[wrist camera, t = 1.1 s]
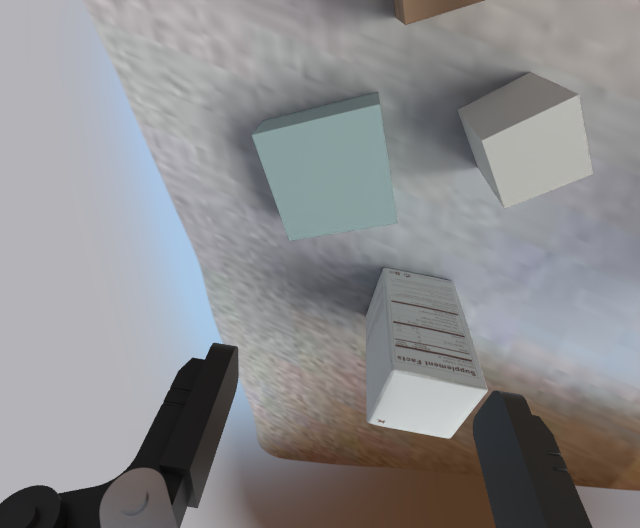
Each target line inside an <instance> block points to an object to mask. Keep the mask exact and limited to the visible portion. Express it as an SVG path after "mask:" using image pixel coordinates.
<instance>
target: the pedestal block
mask: <svg viewBox="0 0 640 528" xmlns="http://www.w3.org/2000/svg"><path fill="white" fill-rule="evenodd" d="M252 138H253V140H254V143H255V146H256V149H257V152H258V155H259V157H260V160H261V163H262V166H263V169H264V171H265V174H266V177H267V180H268V183H269V185H270V188H271V191H272V194H273V197H274V199H275V202H276V205H277V208H278V211H279V213H280V216H281V219H282V222H283V225H284V227H285V230H286V233H287V236H288V239H289V241H293V240H299V239H305V238H311V237H317V236H323V235H329V234H335V233H341V232H347V231H353V230H359V229H365V228H371V227H377V226H383V225H389V224H395V223H398V222H397V215H396V208H395V202H394V195H393V188H392V181H391V175H390V168H389V161H388V155H387V148H386V141H385V134H384V128H383V121H382V114H381V108H380V101H379V94H378V92H376V93H372V94H368V95H364V96H360V97H356V98H352V99H348V100H344V101H340V102H336V103H332V104H328V105H324V106H320V107H316V108H312V109H308V110H304V111H300V112H296V113H292V114H288V115H284V116H280V117H276V118H272V119H268V120H264V121H263V122H262V123H261V124H260V125H259V127H258V128H257V129H256V130H255V131H254V133H253V134H252Z"/></svg>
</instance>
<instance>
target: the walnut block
mask: <svg viewBox="0 0 640 528" xmlns="http://www.w3.org/2000/svg"><path fill="white" fill-rule="evenodd" d="M481 1H484V0H394V6H395V14H396V18H397V19H398V20H400V21H401V22H402V23H404V24H405V25H407V24H410V23H414V22H417V21H420V20H423V19H426V18H430V17H433V16H436V15H439V14H442V13H446V12H449V11H452V10H455V9H458V8H462V7H465V6H468V5H471V4H474V3H478V2H481Z"/></svg>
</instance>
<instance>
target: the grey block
mask: <svg viewBox="0 0 640 528" xmlns="http://www.w3.org/2000/svg"><path fill="white" fill-rule="evenodd" d="M458 113H459V116H460V119H461V122H462V124H463V127H464V130H465V133H466V136H467V138H468V141H469V144H470V147H471V150H472V153H473V155H474V158H475V161H476V164H477V167H478V169H479V170H480V172H481V173H482V175H483V176H484V178H485V179H486V181H487V183H488V184H489V186H490V187H491V189H492V190H493V192H494V193H495V195H496V196H497V198H498V199H499V201H500V203H501V204H502V206H503V207H504V209H506V208H509V207H511V206H514V205H516V204H519V203H521V202H524V201H526V200H529V199H531V198H534V197H536V196H539V195H541V194H544V193H546V192H549V191H552V190H554V189H557V188H559V187H562V186H564V185H567V184H569V183H572V182H574V181H577V180H579V179H582V178H584V177H587V176H589V175H592V174H593V171H592V165H591V160H590V154H589V148H588V143H587V137H586V132H585V126H584V120H583V115H582V109H581V103H580V98H579V94H577V93H575V92H572V91H570V90H568V89H566V88H564V87H562V86H560V85H558V84H555V83H553V82H551V81H549V80H547V79H545V78H543V77H541V76H538V75H536V74H534V73H532V72H529V73H527V74H525V75H524V76H522V77H520V78H518V79H516V80H514V81H512V82H510V83H508V84H506V85H504V86H502V87H500V88H498V89H497V90H495V91H493V92H491V93H489V94H487V95H485V96H483V97H481V98H479V99H477V100H475V101H473V102H471V103H470V104H468V105H466V106H464V107H462V108H460V109H458Z"/></svg>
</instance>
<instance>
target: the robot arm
mask: <svg viewBox="0 0 640 528" xmlns="http://www.w3.org/2000/svg"><path fill="white" fill-rule="evenodd" d="M237 383H238V347H237V346H231V345H225V344H219V343H213V344H212V346H211V347H210V350H209V352H208V354H207V356H206V359H205V360H203V359H197V358H192V359H191V360H190V361H188V362H187V363H186V364H185V365H184V366H183V367H182V368H181V369H180V370H179V371H178V373H177V375H176V377H175V379H174V381H173V383H172V385H171V388H170V391H168V393H167V395H166V397H165V400H164V403H163V404H162V405H161V407H160V410H159V411H158V413H157V416H156V417H155V419H154V421H153V424H152V425H151V427H150V429H149V432H148V434H147V435H146V438H145V440H144V442H143V444H142V446H141V448H140V450H139V452H138V454H137V456H136V458H135V459H134V461H133V462H132V463H131V465H130V466H129V467H128V468H127V469H126V470H125V471H124V472H123V473H122V474H120V475H119V476H118V477H116V478H115V479H113V480H111V481H109V482H107V483H105V484H102V485H99V486H95V487H90V488H85V489H79V490H75V491H69V492H64V493H59V494H57V492H56V491H55V490H53V489H52V488H50V487H48V486H43V485H42V486H41V485H40V486H39V485H37V486H31V487H28V488H24V489H22V490H20V491H18V492H16V493H14V494H12V495H11V496H9V497H8V498H7V499H5V500H4V501H3V502H2V503H1V504H0V528H180V526H181V523H182V520H183V517H184V514H185V511H186V509H187V506H188V507H194V508H198V505H199V502H200V499H201V496H202V493H203V490H204V487H205V484H206V481H207V478H208V475H209V472H210V469H211V466H212V463H213V460H214V457H215V454H216V450H217V447H218V444H219V441H220V438H221V435H222V432H223V429H224V426H225V423H226V420H227V417H228V414H229V411H230V408H231V405H232V402H233V398H234V395H235V392H236V388H237ZM473 435H474V440H475V444H476V448H477V452H478V456H479V460H480V464H481V468H482V472H483V477H484V481H485V485H486V489H487V493H488V497H489V501H490V505H491V509H492V513H493V517H494V522H495V525H496V528H592V525H591V523H590V521H589V519H588V516H587V514H586V511H585V509H584V507H583V504H582V502H581V500H580V497H579V495H578V493H577V490H576V488H575V485H574V483H573V481H572V478H571V476H570V474H569V473H568V472H567V467H566V464H565V462H564V460H563V457H561V456H560V454H561V452H560V450H559V448H558V445H557V443H556V441H555V438H554V436H553V434H552V433H551V431H550V430H549V429H548V427H547V426H546V425H545V424H544V422H543V421H542V420H541V418H540V417H539V416H535V415H532V414H531V411H530V409H529V406H528V404H527V402H526V400H525V398H524V397H523V396H522V395H520V394H515V393H508V392H502V391H493V392H492V393H491V394H490V396H489V397H488V399H487V400H486V401H485V403H484V404H483V406H482V407H481V408H480V410H479V411H478V412H477V414H476V415H475V417H474V421H473Z"/></svg>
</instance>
